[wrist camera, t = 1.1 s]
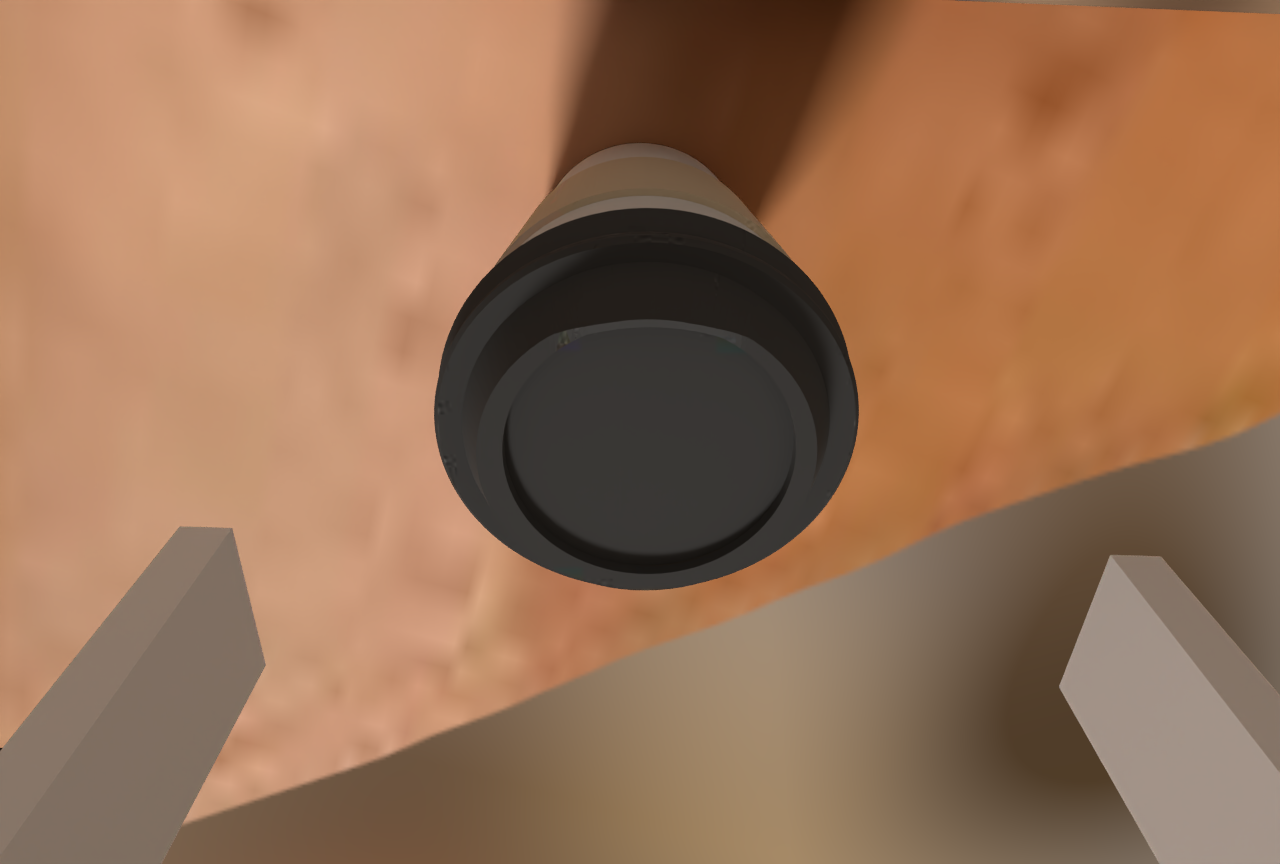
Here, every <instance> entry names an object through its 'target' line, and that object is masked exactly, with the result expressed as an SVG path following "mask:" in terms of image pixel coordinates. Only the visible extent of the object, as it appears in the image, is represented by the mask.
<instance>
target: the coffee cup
mask: <svg viewBox="0 0 1280 864" xmlns="http://www.w3.org/2000/svg"><path fill="white" fill-rule="evenodd" d="M858 418H859V404H858V392H857V386H856V380H855V376H854V372H853V368H852V365H851V362H850V359H849V355H848V351H847V347H846V343H845V340H844V337H843V334H842V331H841V329H840V326H839V324H838V322H837V320H836V318H835V316H834V314H833V312H832V310H831V308H830V306H829V305H828V303H827V301H826V300H825V298H824V297H823V295H822V294H821V292H820V291H819V290H818V288H817V287H816V286H815V285H814V283H813V282H812V281H811V280H810V279H809V277H808V276H807V275H806V274H805V273H804V272H803V271H802V270H801V269H800V268H799V267H798V266H797V265H796V264H795V263H794V262H793V261H792V260H791V259H790V257H789V256H788V255H787V254H786V252H785V251H784V250H783V249H782V248H781V246H780V245H779V244H778V243H777V242H776V241H775V239H774V238H773V237H772V236H771V235H770V234H769V233H768V231H767V230H766V229H765V228H764V227H763V226H762V224H761V223H760V222H759V221H758V220H757V219H756V217H755V216H754V215H753V214H752V213H751V212H750V210H749V209H748V208H747V207H746V206H745V205H744V203H743V202H742V201H741V200H740V199H739V198H738V197H737V196H736V195H735V194H734V193H733V192H732V191H731V190H730V189H729V188H728V187H726V186H725V185H724V184H723V183H721V182H720V181H719V180H718V179H717V177H716V176H715V175H714V174H713V173H712V172H711V171H710V170H709V169H708V168H707V167H705V166H704V165H703V164H702V163H700V162H699V161H698V160H696V159H694V158H693V157H691V156H689V155H687V154H686V153H683V152H681V151H679V150H676V149H673V148H670V147H667V146H663V145H658V144H650V143H630V144H623V145H617V146H613V147H610V148H607V149H604V150H601V151H599V152H597V153H595V154H593V155H591V156H589V157H587V158H586V159H584V160H583V161H581V162H580V163H578V164H577V165H576V166H575V167H573V168H572V169H571V170H570V171H569V172H568V173H567V174H566V175H565V176H564V178H563V179H562V180H561V181H560V183H559V184H558V185H557V187H556V188H555V189H554V190H553V191H552V192H551V193H550V194H549V195H548V196H547V197H546V198H545V199H544V200H543V201H542V202H541V203H540V205H539V206H538V207H537V209H536V210H535V211H534V213H533V214H532V215H531V217H530V218H529V219H528V221H527V222H526V224H525V225H524V226H523V228H522V229H521V230H520V232H519V233H518V235H517V236H516V237H515V239H514V240H513V241H512V243H511V244H510V245H509V247H508V248H507V250H506V251H505V252H504V254H503V255H502V256H501V258H500V259H499V261H498V262H497V264H496V265H495V267H494V268H493V269H492V270H491V271H490V272H489V273H488V274H487V275H486V276H485V277H484V278H483V279H482V280H481V281H480V283H479V284H478V285H477V286H476V288H475V289H474V290H473V291H472V293H471V294H470V296H469V297H468V298H467V300H466V302H465V303H464V305H463V306H462V308H461V310H460V312H459V313H458V315H457V317H456V319H455V321H454V323H453V326H452V328H451V330H450V333H449V335H448V338H447V341H446V344H445V348H444V351H443V355H442V360H441V365H440V371H439V378H438V383H437V388H436V394H435V406H434V421H435V432H436V439H437V444H438V448H439V452H440V456H441V459H442V462H443V465H444V467H445V470H446V472H447V475H448V477H449V479H450V481H451V483H452V485H453V487H454V489H455V490H456V492H457V494H458V495H459V497H460V498H461V500H462V501H463V503H464V504H465V505H466V507H467V508H468V509H469V511H470V512H471V513H472V514H473V515H474V517H475V518H476V519H477V520H478V521H479V522H480V523H481V524H482V525H483V526H484V527H485V528H486V529H487V530H488V531H489V532H490V533H491V534H492V535H494V536H495V537H496V538H497V539H498V540H500V541H501V542H502V543H503V544H505V545H506V546H508V547H509V548H510V549H512V550H513V551H515V552H516V553H518V554H520V555H521V556H523V557H525V558H526V559H528V560H530V561H532V562H534V563H536V564H538V565H540V566H542V567H544V568H546V569H549V570H551V571H553V572H556V573H559V574H561V575H564V576H567V577H570V578H573V579H577V580H581V581H584V582H588V583H593V584H597V585H601V586H606V587H611V588H618V589H628V590H663V589H672V588H679V587H684V586H689V585H694V584H698V583H702V582H706V581H709V580H713V579H717V578H720V577H723V576H726V575H729V574H732V573H734V572H737V571H739V570H742V569H744V568H746V567H748V566H750V565H752V564H755V563H757V562H758V561H760V560H762V559H764V558H766V557H767V556H769V555H771V554H772V553H774V552H776V551H777V550H779V549H780V548H782V547H783V546H784V545H786V544H787V543H788V542H790V541H791V540H792V539H794V538H795V537H796V536H797V535H798V534H800V533H801V532H802V531H803V530H804V529H805V528H806V527H807V526H808V525H809V524H810V523H811V522H812V521H813V520H814V519H815V518H816V517H817V516H818V514H819V513H820V512H821V511H822V510H823V508H824V507H825V506H826V505H827V503H828V502H829V500H830V499H831V497H832V496H833V494H834V493H835V491H836V489H837V488H838V486H839V484H840V482H841V480H842V478H843V476H844V474H845V472H846V470H847V467H848V465H849V462H850V459H851V456H852V453H853V450H854V446H855V441H856V436H857V429H858Z"/></svg>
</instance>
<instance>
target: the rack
mask: <svg viewBox="0 0 1280 864" xmlns="http://www.w3.org/2000/svg"><path fill="white" fill-rule="evenodd" d="M957 1H981V2H1005V3H1029V4H1053V5H1077V6H1101V7H1125V8H1149V9H1173V10H1197V11H1221V12H1244V13H1268V14H1280V0H957Z"/></svg>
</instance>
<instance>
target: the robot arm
mask: <svg viewBox="0 0 1280 864" xmlns="http://www.w3.org/2000/svg"><path fill="white" fill-rule="evenodd" d="M265 665H266V664H265V660H264V656H263V652H262V648H261V644H260V640H259V636H258V632H257V628H256V623H255V619H254V615H253V611H252V607H251V603H250V599H249V595H248V591H247V587H246V583H245V579H244V575H243V571H242V566H241V562H240V558H239V554H238V550H237V546H236V542H235V538H234V534H233V530H232V528H212V527H179V528H178V529H177V531H176V532H175V533H174V534H173V536H172V537H171V538H170V539H169V541H168V542H167V543H166V544H165V546H164V547H163V548H162V549H161V551H160V552H159V553H158V554H157V556H156V557H155V558H154V559H153V561H152V562H151V563H150V564H149V566H148V567H147V568H146V569H145V571H144V572H143V573H142V574H141V576H140V577H139V578H138V579H137V581H136V582H135V583H134V584H133V586H132V587H131V588H130V589H129V591H128V592H127V593H126V594H125V596H124V597H123V598H122V599H121V601H120V602H119V603H118V604H117V606H116V607H115V608H114V609H113V611H112V612H111V613H110V614H109V616H108V617H107V618H106V619H105V621H104V622H103V623H102V624H101V626H100V627H99V628H98V629H97V631H96V632H95V633H94V634H93V636H92V637H91V638H90V639H89V641H88V642H87V643H86V644H85V646H84V647H83V648H82V649H81V651H80V652H79V653H78V654H77V656H76V657H75V658H74V659H73V661H72V662H71V663H70V664H69V666H68V667H67V668H66V669H65V671H64V672H63V673H62V674H61V676H60V677H59V678H58V679H57V681H56V682H55V683H54V684H53V686H52V687H51V688H50V689H49V691H48V692H47V693H46V694H45V696H44V697H43V698H42V699H41V701H40V702H39V703H38V704H37V706H36V707H35V708H34V709H33V711H32V712H31V713H30V714H29V716H28V717H27V718H26V719H25V721H24V722H23V723H22V724H21V726H20V727H19V728H18V729H17V731H16V732H15V733H14V734H13V736H12V737H11V738H10V739H9V741H8V742H7V743H6V744H5V746H4V747H3V748H0V864H161V863H162V862H163V860H164V858H165V856H166V854H167V852H168V850H169V848H170V846H171V844H172V842H173V840H174V839H175V837H176V835H177V833H178V831H179V829H180V827H181V825H182V823H183V822H184V820H185V818H186V816H187V814H188V812H189V810H190V808H191V806H192V804H193V803H194V801H195V799H196V797H197V795H198V793H199V791H200V789H201V787H202V785H203V783H204V782H205V780H206V778H207V776H208V774H209V772H210V770H211V768H212V766H213V764H214V762H215V761H216V759H217V757H218V755H219V753H220V751H221V749H222V747H223V745H224V743H225V742H226V740H227V738H228V736H229V734H230V732H231V730H232V728H233V726H234V724H235V722H236V721H237V719H238V717H239V715H240V713H241V711H242V709H243V707H244V705H245V703H246V702H247V700H248V698H249V696H250V694H251V692H252V690H253V688H254V686H255V684H256V682H257V681H258V679H259V677H260V675H261V673H262V671H263V669H264V667H265ZM1059 688H1060V689H1061V691H1062V693H1063V695H1064V696H1065V698H1066V700H1067V702H1068V703H1069V705H1070V707H1071V709H1072V710H1073V712H1074V714H1075V716H1076V718H1077V719H1078V721H1079V723H1080V725H1081V726H1082V728H1083V730H1084V732H1085V733H1086V735H1087V737H1088V739H1089V740H1090V742H1091V744H1092V746H1093V748H1094V749H1095V751H1096V753H1097V755H1098V756H1099V758H1100V760H1101V762H1102V763H1103V765H1104V767H1105V768H1106V770H1107V772H1108V774H1109V775H1110V777H1111V779H1112V781H1113V783H1114V785H1115V786H1116V788H1117V790H1118V791H1119V793H1120V795H1121V797H1122V799H1123V800H1124V802H1125V804H1126V805H1127V807H1128V809H1129V811H1130V813H1131V814H1132V816H1133V818H1134V819H1135V822H1136V823H1137V825H1138V826H1139V829H1140V830H1141V832H1142V834H1143V835H1144V837H1145V839H1146V841H1147V843H1148V844H1149V846H1150V848H1151V850H1152V851H1153V853H1154V855H1155V857H1156V858H1157V860H1158V862H1159V864H1280V695H1279V694H1278V693H1277V691H1276V690H1275V689H1274V688H1273V687H1272V686H1271V684H1270V683H1269V682H1268V681H1267V680H1266V679H1265V677H1264V676H1263V675H1262V674H1261V673H1260V672H1259V670H1258V669H1257V668H1256V667H1255V666H1254V665H1253V663H1252V662H1251V661H1250V660H1249V659H1248V658H1247V656H1246V655H1245V654H1244V653H1243V652H1242V651H1241V649H1240V648H1239V647H1238V646H1237V645H1236V644H1235V642H1234V641H1233V640H1232V639H1231V638H1230V637H1229V635H1228V634H1227V633H1226V632H1225V631H1224V630H1223V628H1222V627H1221V626H1220V625H1219V624H1218V623H1217V622H1216V620H1215V619H1214V618H1213V617H1212V616H1211V614H1210V613H1209V612H1208V611H1207V610H1206V609H1205V608H1204V606H1203V605H1202V604H1201V603H1200V602H1199V601H1198V599H1197V598H1196V597H1195V596H1194V595H1193V594H1192V592H1191V591H1190V590H1189V589H1188V588H1187V587H1186V585H1185V584H1184V583H1183V582H1182V581H1181V580H1180V578H1179V577H1178V576H1177V575H1176V574H1175V573H1174V571H1173V570H1172V569H1171V568H1170V567H1169V566H1168V564H1167V563H1166V562H1165V561H1164V560H1163V559H1162V557H1160V556H1128V555H1110V557H1109V560H1108V563H1107V565H1106V568H1105V571H1104V573H1103V576H1102V578H1101V581H1100V583H1099V586H1098V589H1097V591H1096V594H1095V596H1094V599H1093V601H1092V604H1091V606H1090V609H1089V611H1088V614H1087V617H1086V619H1085V622H1084V624H1083V627H1082V629H1081V632H1080V635H1079V637H1078V640H1077V642H1076V645H1075V647H1074V650H1073V652H1072V655H1071V658H1070V660H1069V663H1068V665H1067V668H1066V670H1065V673H1064V676H1063V678H1062V681H1061V683H1060V686H1059Z"/></svg>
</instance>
